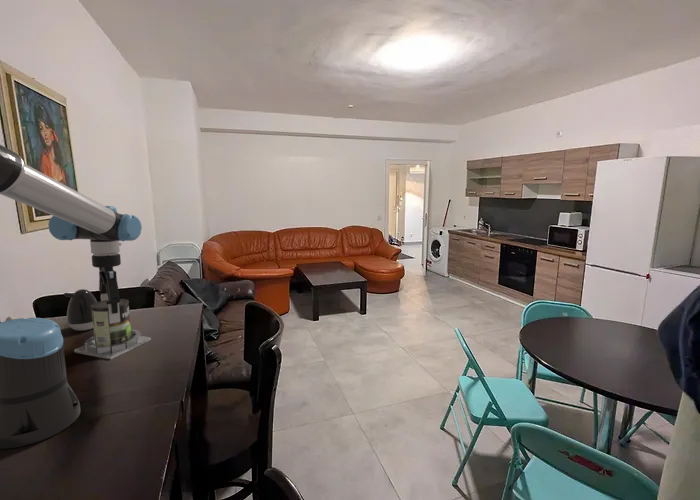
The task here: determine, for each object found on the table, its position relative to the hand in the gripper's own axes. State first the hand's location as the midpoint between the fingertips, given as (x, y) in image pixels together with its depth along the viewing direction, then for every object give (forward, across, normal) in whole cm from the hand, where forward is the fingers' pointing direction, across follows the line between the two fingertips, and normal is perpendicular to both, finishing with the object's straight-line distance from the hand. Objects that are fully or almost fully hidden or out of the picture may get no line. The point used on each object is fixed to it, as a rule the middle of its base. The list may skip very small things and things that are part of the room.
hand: (110, 317), depth 112 cm
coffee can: (+10, 0, 0) cm, 10 cm away
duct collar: (+10, 0, 0) cm, 10 cm away
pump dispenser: (+10, +25, +5) cm, 28 cm away
